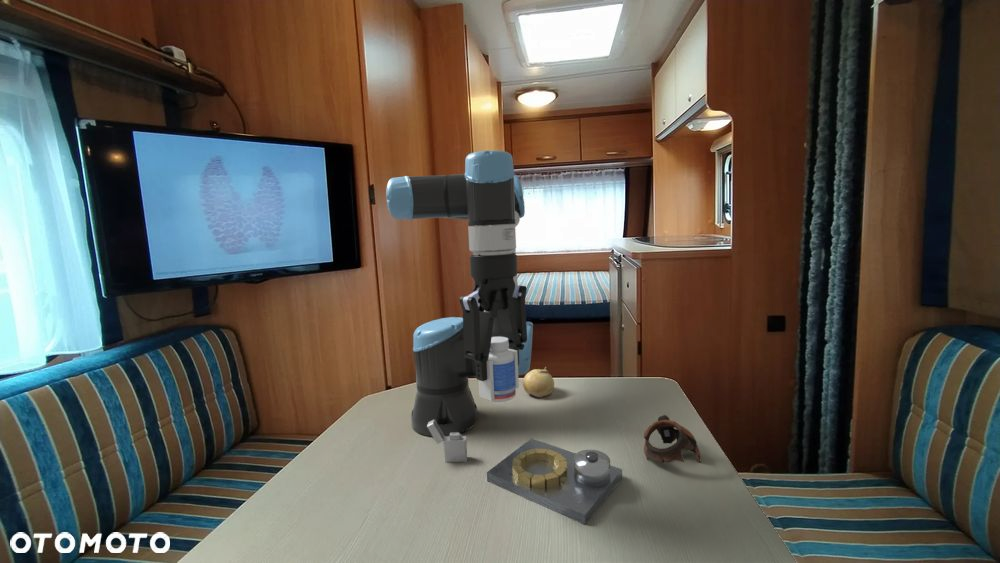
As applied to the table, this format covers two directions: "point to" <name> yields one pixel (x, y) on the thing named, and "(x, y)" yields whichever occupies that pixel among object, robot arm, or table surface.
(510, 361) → the pill bottle
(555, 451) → the carrier plate
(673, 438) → the pottery mug
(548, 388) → the onion
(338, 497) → the table surface
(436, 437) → the lighter
